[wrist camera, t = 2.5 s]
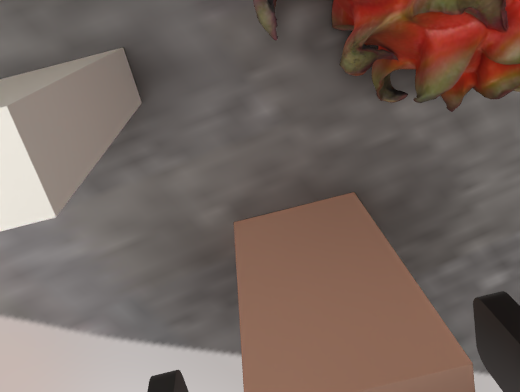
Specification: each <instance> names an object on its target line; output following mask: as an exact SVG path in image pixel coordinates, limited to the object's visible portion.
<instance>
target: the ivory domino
mask: <svg viewBox="0 0 520 392" xmlns="http://www.w3.org/2000/svg"><path fill="white" fill-rule="evenodd" d="M141 104H142V102H141V99H140V96H139V93H138V90H137V87H136V84H135V81H134V78H133V75H132V72H131V69H130V66H129V63H128V60H127V57H126V54H125V51H124V48H123V47H122V48H119V49H115V50H111V51H107V52H103V53H99V54H95V55H92V56H88V57H84V58H80V59H76V60H72V61H68V62H65V63H61V64H57V65H53V66H49V67H45V68H41V69H38V70H34V71H30V72H26V73H22V74H18V75H14V76H11V77H7V78H3V79H0V231H4V230H8V229H12V228H16V227H20V226H24V225H28V224H32V223H36V222H40V221H43V220H47V219H51V218H55V217H57V216H58V214H59V213H60V212H61V210H62V209H63V208H64V206H65V205H66V204H67V202H68V201H69V200H70V198H71V197H72V196H73V194H74V193H75V192H76V190H77V189H78V188H79V186H80V185H81V184H82V182H83V181H84V180H85V178H86V177H87V176H88V174H89V173H90V172H91V170H92V169H93V168H94V166H95V165H96V164H97V162H98V161H99V160H100V158H101V157H102V156H103V154H104V153H105V152H106V150H107V149H108V148H109V146H110V145H111V144H112V142H113V141H114V140H115V138H116V137H117V136H118V134H119V133H120V132H121V130H122V129H123V128H124V126H125V125H126V124H127V122H128V121H129V120H130V118H131V117H132V116H133V114H134V113H135V112H136V110H137V109H138V108H139V106H140V105H141Z"/></svg>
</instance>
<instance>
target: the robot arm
mask: <svg viewBox="0 0 520 392" xmlns="http://www.w3.org/2000/svg"><path fill="white" fill-rule="evenodd" d="M473 308H474V320H475V333H476V344H477V349H478V352H479V355H480V358H481V360H482V362H483V364H484V366H485V367H486V369H487V370H488V372H489V373H490V374H491V376H492V377H493V378H494V380H495V381H496V383H497V384H498V385H499V387H500V388H501V389H502V391H503V392H520V306H519V305H518V304H517V303H516V302H515V301H514V300H513V299H512V298H511V297H510V296H509V295H508V294H507V293H506V292H504V291H502V292H498V293H494V294H489V295H485V296H481V297H477V298H475V299H474V301H473ZM148 392H188V389H187V386H186V384H185V381H184V378H183V376H182V374H181V372H180V371H179V370H176V371H171V372H167V373H163V374H159V375H155V376H152V377H151V378H150V381H149V386H148Z"/></svg>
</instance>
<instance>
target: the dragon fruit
mask: <svg viewBox="0 0 520 392" xmlns="http://www.w3.org/2000/svg"><path fill="white" fill-rule="evenodd" d="M276 1H277V0H253V2H254V7H255V10H256V13H257V18H258V20H259V22H260V23H261V25H262V26H263V27H264V29H265V30H266V31H267V32H268V33H269V35H270V36H271V37H272V38H273V39H274V40H277V39H278V36H277V32H276V27H277V19H276V17H275V6H276ZM332 26H333V28H335V29H338V30H352V33H351V34H350V35H349V37H348V39H347V40H346V42H345V45H344V49H343V53H342V57H341V62H340V66H341V67H342V68H343V69H344V70H345V72H346V73H348V74H350V75H354V76H359V75H363V74H364V73H365V72H366V71H367V70H368V69H369V68H370V67H371V66H372V81H373V84H374V87H375V89H376V92H377V96H378V98H379V99H380V100H381V101H387V102H397V101H400V100H402V99H404V98H405V97H407V95H408V94H407V93H405V92H403V91H398V90H396V89H394V88H393V86H392V85H391V82H390V73H391V72H392V71H395V70H399V69H416V77H415V88H416V92H417V98H414V101H415V102H418V103H422V102H424V101H428V100H432V99H436V98H437V97H438V96H440V95H441V97H442V98H443V100H444V101H445V103H446V105H447V109H448V110H450V111H451V112H453V111H454V110H455V109H456V108H457V107H458V106H459V105H460V104H461V102H462V99H463V97H464V95H465V94H466V93H467V92H468V91H469V90H470V89H471V88H474V89H475V90H476V91H477V92H479V93H480V94H482V95H483V96H484V97H486V98H489V99H500V98H502V97H504V96H505V95H507V94H508V93H510V92H512V91H517V92H519V91H520V0H334V1H333V6H332ZM367 45H377V46H378V49H376V48H373V47H371V46H367ZM372 64H373V65H372Z"/></svg>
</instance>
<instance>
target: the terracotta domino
mask: <svg viewBox="0 0 520 392" xmlns="http://www.w3.org/2000/svg"><path fill="white" fill-rule="evenodd" d="M234 235H235V252H236V268H237V285H238V301H239V318H240V335H241V351H242V366H243V384H244V392H475V386H474V374H473V363H472V362H471V361H470V359H469V358H468V356H467V355H466V353H465V352H464V350H463V349H462V348H461V346H460V345H459V343H458V342H457V340H456V339H455V337H454V336H453V335H452V333H451V332H450V330H449V329H448V327H447V326H446V324H445V323H444V321H443V320H442V319H441V317H440V316H439V314H438V313H437V311H436V310H435V308H434V307H433V306H432V304H431V303H430V301H429V300H428V298H427V297H426V295H425V294H424V293H423V291H422V290H421V288H420V287H419V285H418V284H417V282H416V281H415V280H414V278H413V277H412V275H411V274H410V272H409V271H408V269H407V268H406V267H405V265H404V264H403V262H402V261H401V259H400V258H399V256H398V255H397V254H396V252H395V251H394V249H393V248H392V246H391V245H390V243H389V242H388V241H387V239H386V238H385V236H384V235H383V233H382V232H381V230H380V229H379V228H378V226H377V225H376V223H375V222H374V220H373V219H372V217H371V216H370V215H369V213H368V212H367V210H366V209H365V207H364V206H363V204H362V203H361V202H360V200H359V199H358V197H357V196H356V194H355V193H354V192H352V193H348V194H344V195H340V196H336V197H332V198H328V199H325V200H321V201H317V202H313V203H309V204H305V205H301V206H297V207H293V208H289V209H285V210H281V211H277V212H273V213H269V214H265V215H261V216H257V217H253V218H249V219H245V220H241V221H237V222H234Z"/></svg>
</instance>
